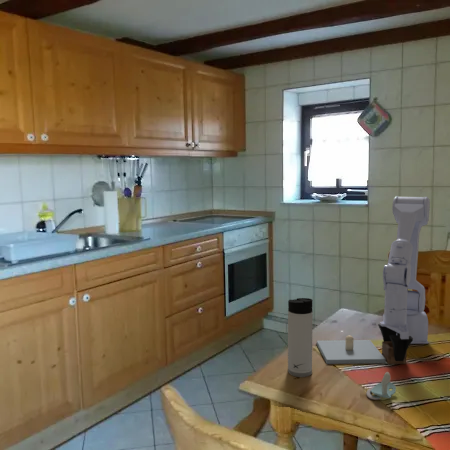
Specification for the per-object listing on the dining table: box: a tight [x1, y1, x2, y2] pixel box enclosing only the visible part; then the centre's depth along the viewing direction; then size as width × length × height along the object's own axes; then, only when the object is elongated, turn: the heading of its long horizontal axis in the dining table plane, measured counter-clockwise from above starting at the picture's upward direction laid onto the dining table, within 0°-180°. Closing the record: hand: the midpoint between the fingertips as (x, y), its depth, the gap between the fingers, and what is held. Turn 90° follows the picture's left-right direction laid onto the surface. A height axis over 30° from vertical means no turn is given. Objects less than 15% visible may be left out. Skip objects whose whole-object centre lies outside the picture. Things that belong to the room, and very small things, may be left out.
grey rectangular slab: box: [316, 334, 387, 365], centre depth 133 cm, size 16×14×5 cm
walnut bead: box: [381, 341, 408, 365], centre depth 128 cm, size 5×5×4 cm
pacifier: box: [366, 371, 397, 401], centre depth 108 cm, size 7×6×6 cm
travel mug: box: [287, 297, 314, 378], centre depth 120 cm, size 6×7×20 cm
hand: (394, 354), depth 128 cm, fingers open, 7 cm apart
